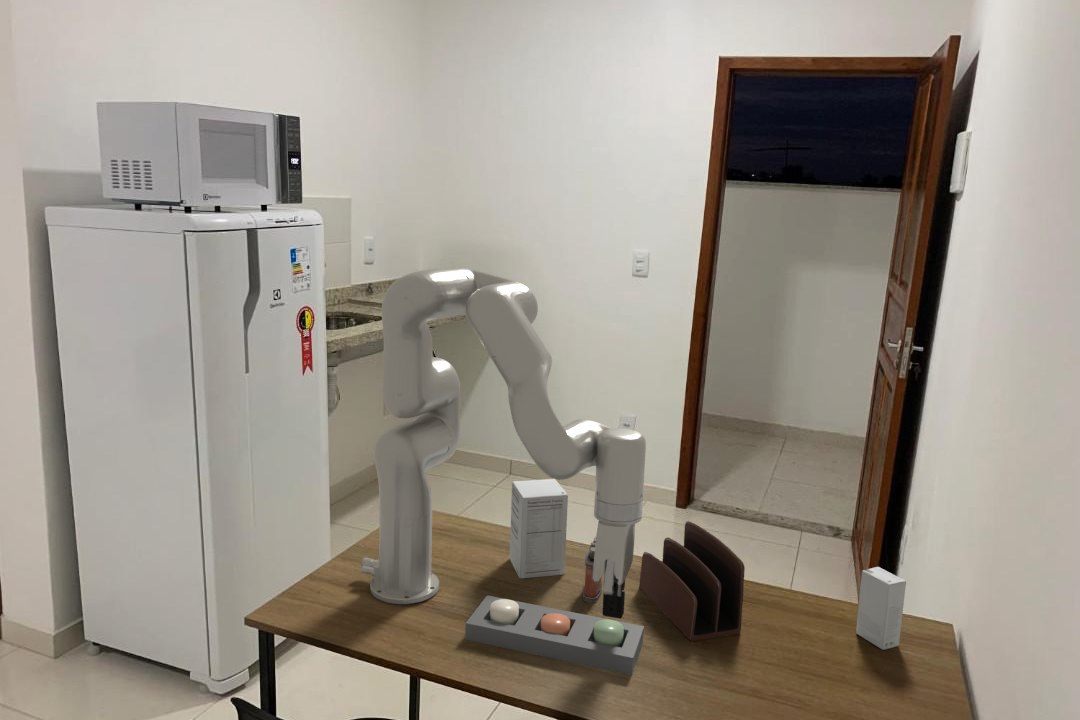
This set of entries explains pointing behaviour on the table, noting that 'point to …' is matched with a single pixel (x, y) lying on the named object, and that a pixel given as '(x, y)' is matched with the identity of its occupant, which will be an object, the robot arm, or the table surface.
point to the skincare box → (880, 607)
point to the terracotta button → (555, 624)
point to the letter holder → (696, 584)
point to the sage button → (608, 632)
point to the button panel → (556, 637)
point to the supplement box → (538, 528)
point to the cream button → (504, 611)
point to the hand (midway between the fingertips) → (613, 614)
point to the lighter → (591, 588)
